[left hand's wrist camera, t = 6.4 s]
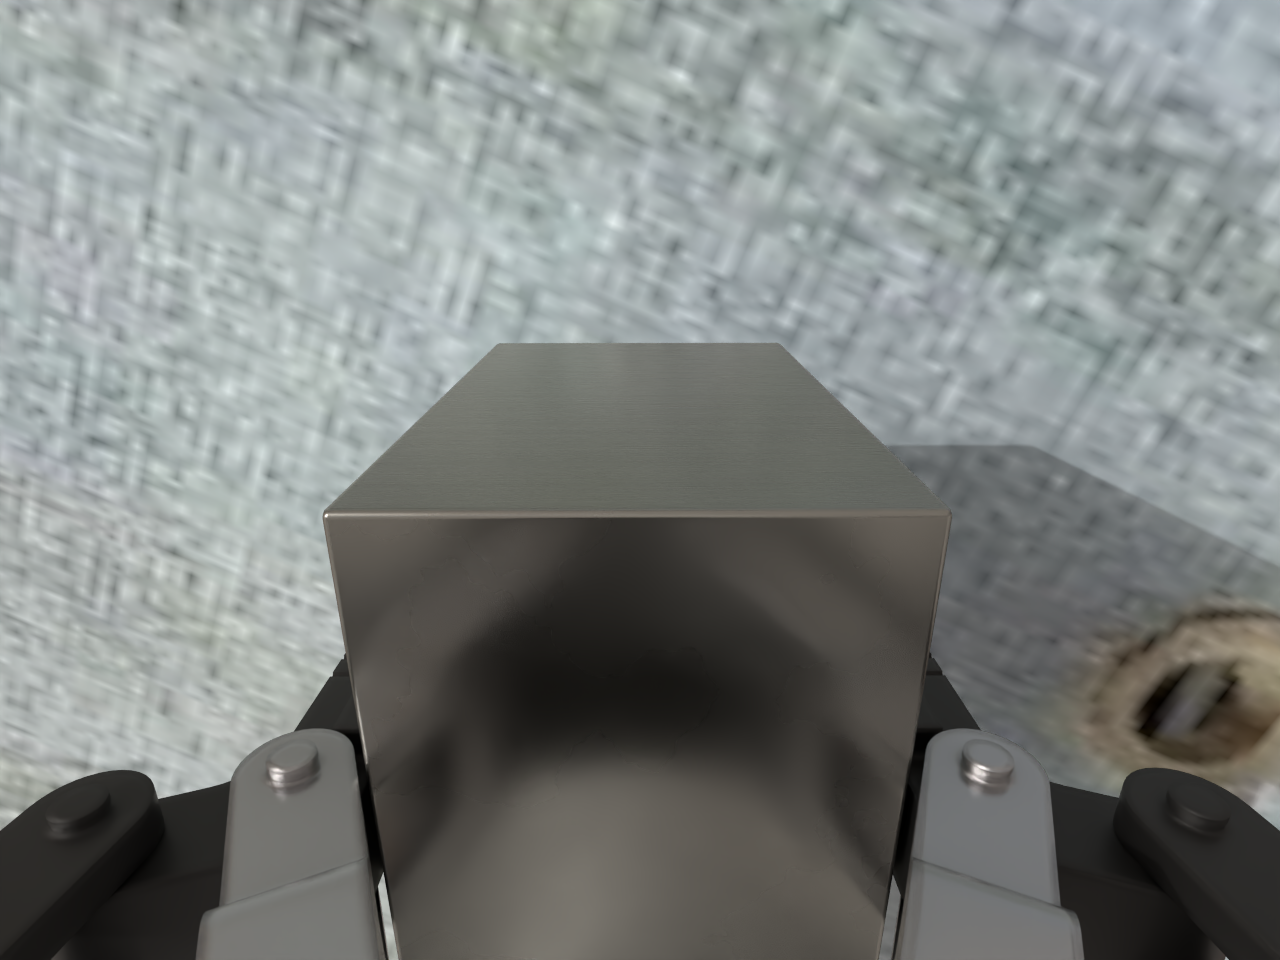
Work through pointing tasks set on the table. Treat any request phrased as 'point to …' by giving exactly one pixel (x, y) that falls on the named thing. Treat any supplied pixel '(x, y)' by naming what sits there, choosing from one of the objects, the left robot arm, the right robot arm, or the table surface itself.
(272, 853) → the left robot arm
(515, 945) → the bar
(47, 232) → the table surface
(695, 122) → the table surface
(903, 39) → the table surface
